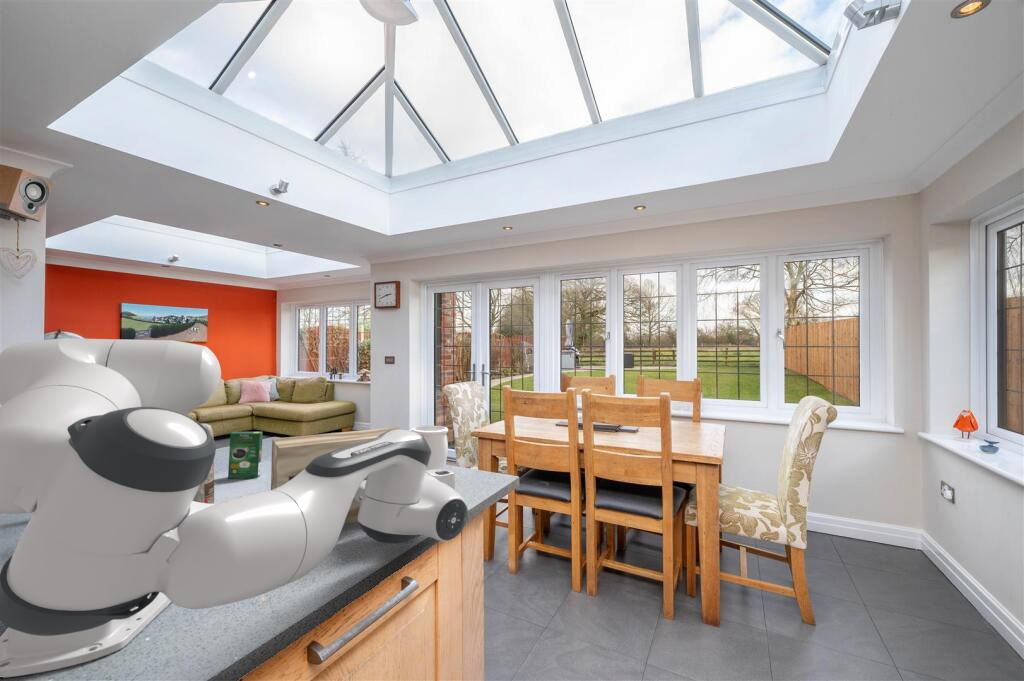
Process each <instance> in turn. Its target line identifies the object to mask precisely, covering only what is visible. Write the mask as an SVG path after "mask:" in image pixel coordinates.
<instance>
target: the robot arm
mask: <svg viewBox="0 0 1024 681" xmlns="http://www.w3.org/2000/svg"><path fill="white" fill-rule="evenodd" d="M221 378H222V370H221V366H220V362H219V360H218V357H217V356H216V355H215V354H214V352H213V351H212V350H211V349H210V348H209V347H208V346H206V345H201V344H196V343H192V342H191V343H190V342H184V341H179V340H172V339H171V340H170V339H127V338H126V339H122V338H121V339H116V338H114V339H112V338H110V339H109V338H71V337H70V338H69V337H68V338H62V337H61V338H51V339H42V340H41V339H39V340H34V341H25V342H20V343H19V342H18V343H14V344H12V345H9V346H8V347H6V348H5V349H4V350H3V351H2V352H0V514H5V515H20V514H21V515H22V514H32V516H31V517H30V518H29V521H28V523H27V525H25V526H26V527H25V528H24V530H23V532H22V534H21V536H20V538H19V541H18V543H17V545H16V547H15V549H14V551H13V554H12V555H11V556H10V557H9V558H8V559H6V561H5V563H4V565H3V566H2V568H1V570H0V623H1V624H3V625H4V626H6V627H7V628H6V629H5V631H4V632H3V633H2V635H0V676H4V677H3V678H11V677H12V678H13V677H20V676H26V675H32V674H39V673H45V672H49V671H53V670H59V669H63V668H66V667H72V666H76V665H79V664H83V663H86V662H90V661H93V660H96V659H99V658H101V657H105V656H107V655H110V654H112V653H114V652H117V651H120V650H121V649H123V648H124V647H125V646H127V645H128V644H129V643H130V642H131V641H132V640H133V639H134V638H135V637H137V636H138V634H139V633H141V632H142V631H143V630H144V629H145V628H147V626H148V625H149V624H150V623H151V622H152V621H154V619H155V618H156V617H157V616H158V615H160V613H162V612H163V611H164V610H165V609H166V608H167V607H168V606H169V605H170V604H171V603H173V604H174V605H175V606H178V607H181V608H183V609H188V610H202V609H203V610H204V609H208V608H214V607H215V608H216V607H220V606H225V605H229V604H233V603H239V602H242V601H245V600H248V599H252V598H255V597H257V596H261V595H264V594H267V593H269V592H272V591H274V590H276V589H279V588H282V587H284V586H286V585H288V584H291V583H293V582H296V581H297V580H299V579H301V578H303V577H305V576H306V575H308V574H310V573H311V572H312V571H314V569H316V568H318V566H319V565H320V564H322V563H323V562H324V561H325V560H326V559H327V557H328V556H329V555H330V554H331V552H332V551H333V549H334V548H335V546H336V544H337V543H338V540H339V537H340V535H341V532H342V531H343V530H342V529H343V527H344V525H345V524H344V522H345V519H346V516H347V514H348V511H349V508H350V506H351V503H352V501H353V499H355V500H356V501H357V502H358V503H360V509H359V513H358V518H357V522H356V523H358V526H359V528H360V529H361V530H362V531H363V532H364V533H365V534H366V535H367V536H368V537H369V538H370V539H372V540H374V541H375V542H376V541H377V543H378V542H379V543H381V544H382V543H383V544H388V545H398V544H399V545H400V544H405V543H409V542H411V541H413V540H415V539H417V538H419V537H420V536H424V537H429V538H432V539H433V540H437V541H440V542H449V541H452V540H454V539H455V538H457V537H458V536H459V535H460V533H461V532H462V531H463V530H464V529H465V526H466V523H467V519H468V514H469V509H468V505H467V503H466V500H465V499H464V498H463V496H462V495H461V494H460V493H459V492H457V491H456V476H455V472H454V471H452V470H448V469H446V468H444V469H443V468H439V469H432V470H426V467H427V466H428V462H429V459H430V456H431V449H430V447H429V445H428V443H427V441H426V440H425V438H424V437H423V436H422V435H420V434H418V433H415V432H413V431H412V430H408V429H402V430H393V431H387V432H385V433H383V434H381V435H379V436H378V437H376V438H374V439H370V440H367V441H364V442H361V443H357V444H354V445H351V446H347V447H344V448H341V449H338V450H335V451H332V452H329V453H326V454H323V455H321V456H319V457H316V458H315V459H313V460H312V461H311V462H310V463H309V464H308V465H307V466H306V468H305V469H304V470H303V471H302V472H300V473H299V474H298V475H297V476H295V477H294V478H293V479H291V480H290V481H288V482H287V483H285V484H283V485H282V486H280V487H278V488H276V489H273V490H271V489H270V490H265V491H261V492H260V491H259V492H254V493H249V494H246V495H241V496H239V497H238V496H237V497H235V498H231V499H228V500H224V501H222V502H217V503H214V504H208V503H200V502H195V501H193V499H194V497H195V495H196V493H197V491H198V488H199V486H200V484H202V483H203V482H204V481H205V480H206V478H207V477H208V474H209V472H210V469H211V466H212V463H213V460H214V461H215V456H216V451H217V443H216V440H215V438H214V439H213V438H212V436H211V434H210V433H209V431H208V430H207V429H206V428H205V427H204V426H203V425H202V423H201V422H199V421H198V420H196V419H194V418H193V417H191V416H188V415H189V414H191V413H192V412H193V411H194V410H196V409H197V408H199V407H200V406H202V405H204V404H205V403H206V402H208V401H209V400H210V399H211V398H212V397H213V395H214V394H215V393H216V391H218V388H219V386H220V383H221ZM366 477H367V480H364V479H365V478H366Z"/></svg>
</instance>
